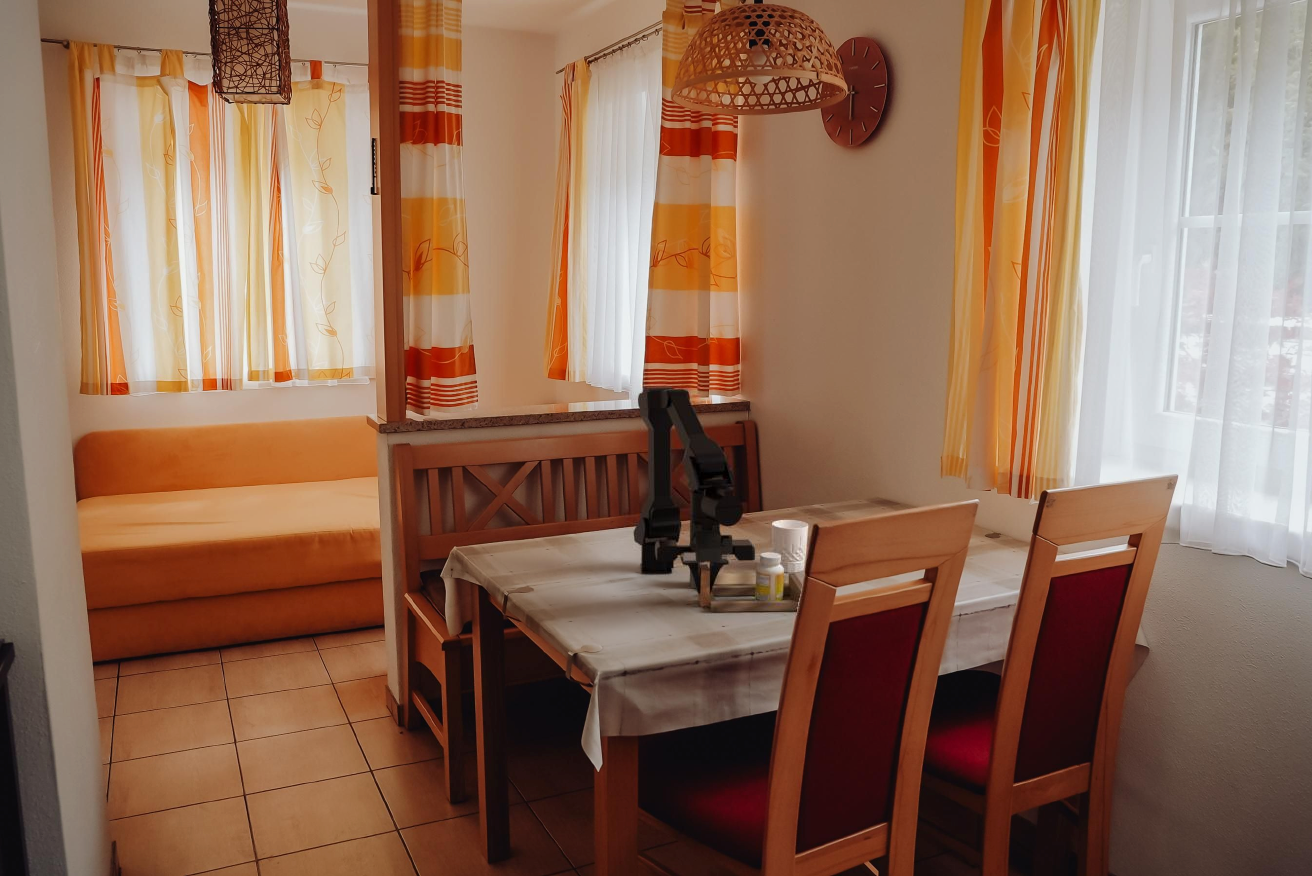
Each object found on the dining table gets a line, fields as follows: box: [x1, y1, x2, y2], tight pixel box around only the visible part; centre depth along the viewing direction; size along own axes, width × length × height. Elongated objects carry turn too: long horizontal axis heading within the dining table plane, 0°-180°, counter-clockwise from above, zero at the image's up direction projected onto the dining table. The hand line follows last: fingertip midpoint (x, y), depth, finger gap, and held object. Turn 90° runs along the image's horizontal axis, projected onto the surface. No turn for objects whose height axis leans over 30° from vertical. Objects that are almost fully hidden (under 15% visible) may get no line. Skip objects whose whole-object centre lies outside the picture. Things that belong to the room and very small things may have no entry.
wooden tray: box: [698, 563, 803, 613], centre depth 189 cm, size 20×11×7 cm, turn 94°
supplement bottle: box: [754, 551, 785, 601], centre depth 189 cm, size 5×5×10 cm
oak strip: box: [689, 550, 789, 589], centre depth 201 cm, size 20×7×7 cm, turn 94°
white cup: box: [771, 519, 809, 574], centre depth 213 cm, size 8×8×10 cm
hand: (703, 593), depth 189 cm, fingers closed on wooden tray, 2 cm apart
